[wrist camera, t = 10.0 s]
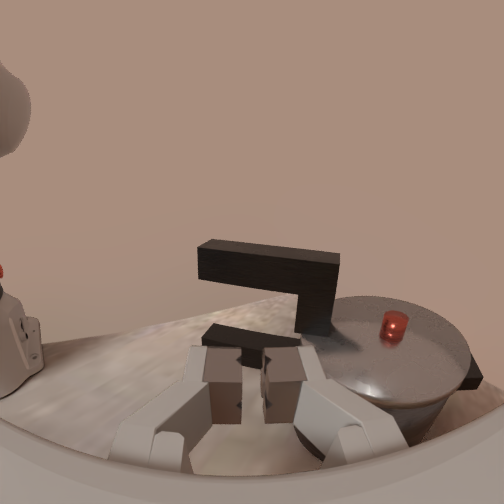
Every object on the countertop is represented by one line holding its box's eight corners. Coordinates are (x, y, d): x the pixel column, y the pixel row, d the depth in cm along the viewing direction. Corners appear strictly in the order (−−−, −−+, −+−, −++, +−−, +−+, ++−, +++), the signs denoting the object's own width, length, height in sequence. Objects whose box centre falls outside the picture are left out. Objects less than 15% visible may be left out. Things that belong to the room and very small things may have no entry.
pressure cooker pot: (432, 376, 30) (456, 315, 27) (454, 466, 16) (505, 401, 13) (234, 352, 38) (234, 289, 35) (181, 434, 24) (166, 364, 21)
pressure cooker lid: (441, 310, 28) (456, 250, 26) (488, 406, 13) (532, 320, 11) (236, 285, 36) (237, 225, 33) (162, 364, 20) (149, 274, 18)
